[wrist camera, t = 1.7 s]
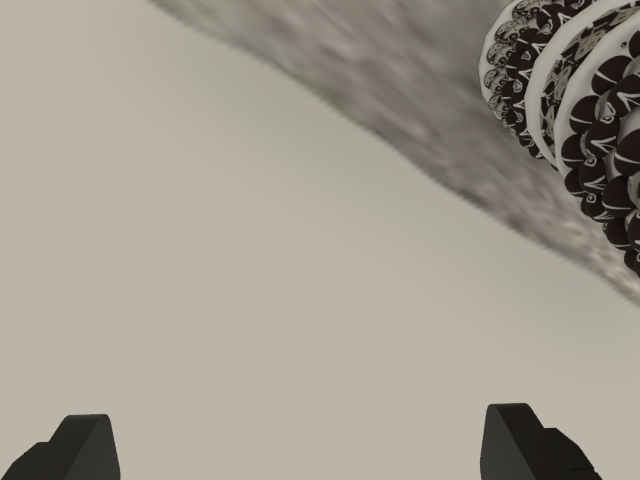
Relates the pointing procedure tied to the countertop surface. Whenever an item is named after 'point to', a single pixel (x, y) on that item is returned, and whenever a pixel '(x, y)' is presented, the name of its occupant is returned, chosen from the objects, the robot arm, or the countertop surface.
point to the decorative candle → (575, 101)
